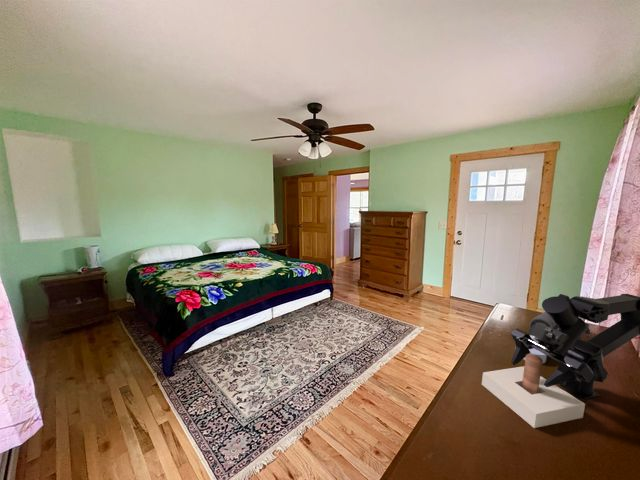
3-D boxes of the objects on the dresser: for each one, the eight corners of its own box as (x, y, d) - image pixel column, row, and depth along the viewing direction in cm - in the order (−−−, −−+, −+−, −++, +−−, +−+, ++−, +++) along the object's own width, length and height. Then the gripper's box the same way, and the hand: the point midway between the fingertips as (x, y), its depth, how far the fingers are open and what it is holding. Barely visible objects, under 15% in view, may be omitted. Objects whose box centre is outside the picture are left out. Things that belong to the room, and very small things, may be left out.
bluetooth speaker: (547, 323, 122) (550, 303, 120) (574, 332, 114) (577, 310, 112) (525, 335, 110) (528, 313, 109) (553, 346, 102) (557, 322, 101)
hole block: (523, 377, 83) (524, 366, 82) (582, 417, 68) (585, 404, 67) (481, 384, 80) (483, 372, 79) (534, 428, 64) (536, 413, 64)
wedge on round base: (523, 343, 103) (510, 354, 96) (526, 328, 102) (512, 337, 95) (553, 355, 96) (540, 366, 89) (555, 338, 95) (543, 348, 88)
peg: (520, 393, 76) (525, 352, 74) (535, 398, 74) (542, 357, 72) (520, 400, 73) (526, 358, 71) (536, 406, 71) (543, 363, 69)
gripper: (518, 303, 80) (485, 340, 79) (593, 333, 62) (550, 381, 61) (535, 325, 83) (503, 360, 82) (611, 359, 65) (571, 405, 64)
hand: (527, 374), depth 72 cm, fingers open, 9 cm apart
